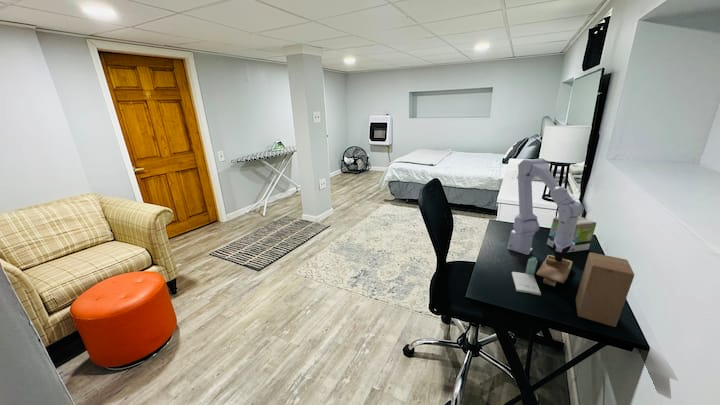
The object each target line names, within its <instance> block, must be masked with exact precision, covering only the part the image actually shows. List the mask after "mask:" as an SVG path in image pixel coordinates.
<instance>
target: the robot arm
mask: <svg viewBox="0 0 720 405" xmlns="http://www.w3.org/2000/svg"><path fill="white" fill-rule="evenodd" d="M517 169H518V170H517V171H518V173H517V185H518V186H517V187H518V208H519V210H518V212H519V213H518V214H517V215H515V217H514V221H513V222H514V223H513V225H512V227H513V229H512V230H511V231H510V234H509V237H508V243H507V248H506V249H507V250H511V251H513V252H517V253H521V254H524V255H528V256H529V255H530V254H531V252H532V251H533V249H534V248H533V247H532V244H533V240H534V235H535V234H536V232H538V231H539V229H540V223H539V221H538V216H537V215H536V214H534V212H533V211H534V210H533V209H534V208H533V186H532V185H533V182H532V181H533V179H534V178H535V177H537V178H540V180H541V181H542V182H543V183H544V185H545V186H546V187H547V188H548V189H549V191H550V192H549V196H550V197H551V198H552V200H553V202H554V203H555V205H556V206H557V207H558V208H557V213H558V217H559V224H558V228H557V232H556V236H555V239H554V242H555V243H554V244H553V247H552V248H553V253H554V256H555V260H556V261H559V262H561V261H562V259H564V257H565V255H566V253H569V252H568V251H569V249H570V247H571V246H575V243H573V242H572V239H573V235H574V232H575V228H576V224H577V220H578V216H581V217H582V215H584V212H585V208H584V206H583V204H582V203H581V202H579V201H576V200H575V199H574V198H573V197H572V196H571V194H570V193H569V192H568V189H567V188H565V187H564V186H560V185H559V183H558V182H557V180H556V178H555V176H554V175H553V174H552V172H551V171H550V164H549V163H548V162H547V159H545V158H541V157H540V158H534V159H533V158H532V159H523V160H521V162H519V163H518V165H517Z"/></svg>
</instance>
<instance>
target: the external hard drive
mask: <svg viewBox="0 0 720 405" xmlns="http://www.w3.org/2000/svg"><path fill="white" fill-rule="evenodd" d="M511 275H512V280H513V283H514V287H515V291H516V292H517V293H518V292H519V293H525V294H531V295H536V296H542V293H541V290H540V288H539V285H538V283H537V279H536V278H535V274H534V275H532V274H526V273H525V272H519V271H518V272H517V271H511Z"/></svg>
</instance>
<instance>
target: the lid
mask: <svg viewBox="0 0 720 405" xmlns="http://www.w3.org/2000/svg"><path fill="white" fill-rule="evenodd" d="M546 258H547V257H546ZM568 272H569V268H567V264H566V263H563V262H559V261H556V260H553V259H549V258H547V260H546V261H545V260H544V261H543V262H542V263H541V265H540V267H539V269H537V272H535V274H536V275H537V276H540V277H542V278H544V277H545V278H548V279H551V280H554V281H556V283H557V282H558V283H561V284H564V283H565V282H566V281H565V279H566V276H567V274H568ZM569 273H570V272H569ZM568 275H569V274H568ZM566 280H567V279H566Z"/></svg>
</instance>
